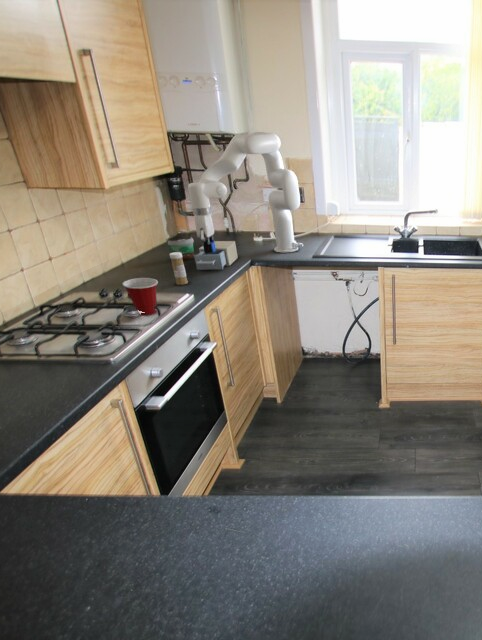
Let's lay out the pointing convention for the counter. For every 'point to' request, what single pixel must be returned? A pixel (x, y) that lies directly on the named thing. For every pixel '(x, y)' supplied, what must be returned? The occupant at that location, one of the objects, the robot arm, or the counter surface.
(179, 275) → the sprinkles bottle
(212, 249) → the blue cube
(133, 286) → the plastic cup
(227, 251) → the cream drawer box
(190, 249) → the food container
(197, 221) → the robot arm
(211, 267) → the grey drawer
